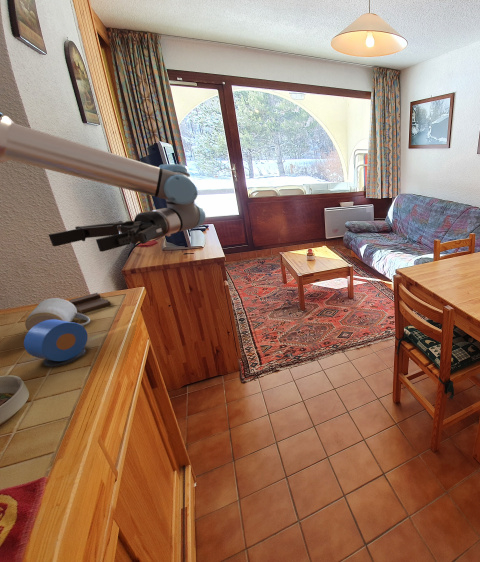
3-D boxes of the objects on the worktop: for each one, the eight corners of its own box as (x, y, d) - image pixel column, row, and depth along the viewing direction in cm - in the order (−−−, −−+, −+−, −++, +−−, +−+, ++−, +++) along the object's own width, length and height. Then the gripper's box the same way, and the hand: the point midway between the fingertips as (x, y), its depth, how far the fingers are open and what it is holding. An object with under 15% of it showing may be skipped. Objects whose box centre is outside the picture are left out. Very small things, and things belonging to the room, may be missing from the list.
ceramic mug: (29, 342, 74) (16, 314, 72) (44, 326, 81) (32, 299, 78) (85, 332, 79) (75, 306, 76) (95, 318, 86) (86, 293, 83)
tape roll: (34, 365, 66) (15, 332, 63) (76, 343, 73) (62, 312, 70) (51, 369, 65) (34, 336, 62) (93, 346, 72) (79, 315, 69)
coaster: (35, 366, 67) (34, 363, 66) (67, 347, 73) (66, 345, 73) (63, 368, 66) (62, 366, 66) (93, 350, 72) (92, 348, 72)
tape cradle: (112, 307, 91) (110, 301, 91) (83, 316, 86) (81, 310, 86) (99, 298, 97) (96, 292, 96) (71, 306, 92) (68, 300, 91)
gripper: (197, 240, 87) (125, 264, 68) (125, 233, 92) (39, 253, 73) (191, 213, 84) (114, 230, 65) (118, 207, 89) (26, 222, 70)
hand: (74, 243), depth 69 cm, fingers open, 13 cm apart
